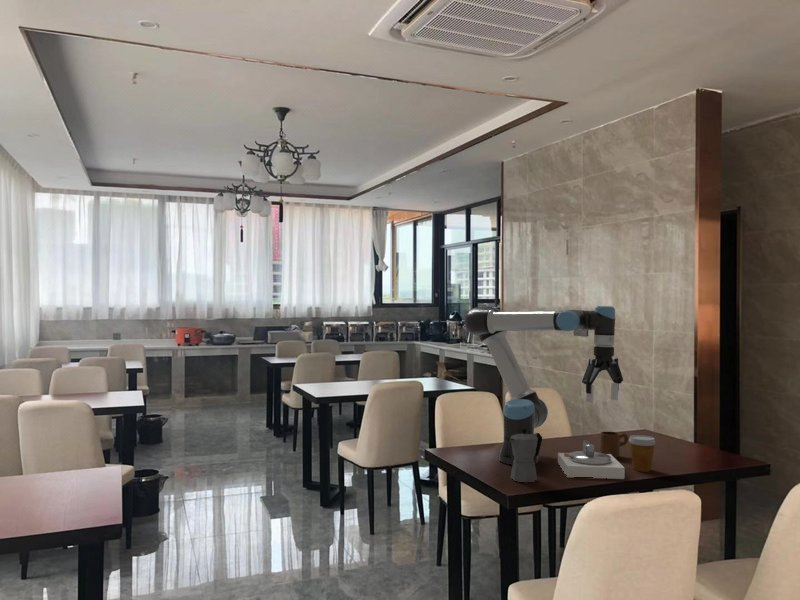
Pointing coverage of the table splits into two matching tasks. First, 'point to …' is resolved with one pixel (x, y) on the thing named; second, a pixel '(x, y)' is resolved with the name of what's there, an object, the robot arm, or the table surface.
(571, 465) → the dial housing
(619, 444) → the mug
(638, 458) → the disposable coffee cup
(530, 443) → the coffeepot
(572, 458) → the dial
